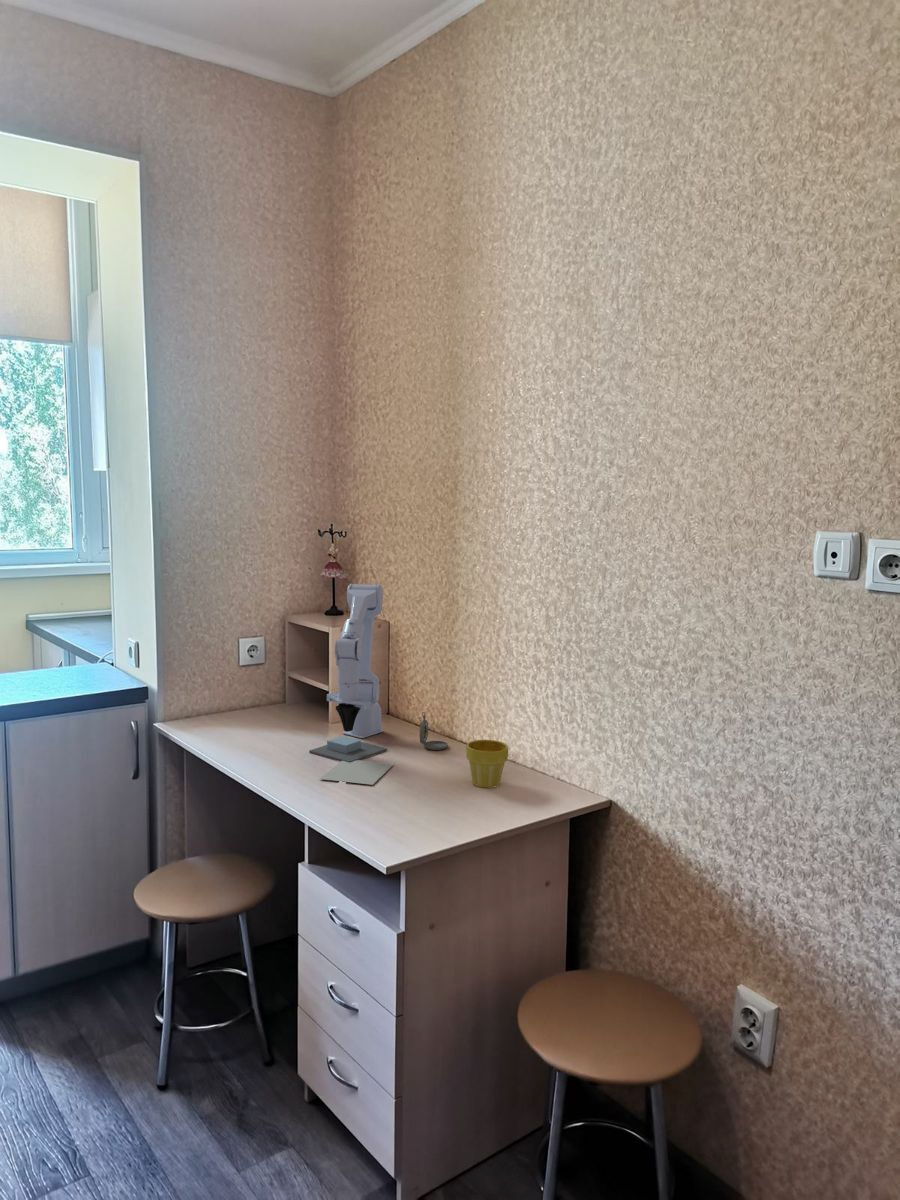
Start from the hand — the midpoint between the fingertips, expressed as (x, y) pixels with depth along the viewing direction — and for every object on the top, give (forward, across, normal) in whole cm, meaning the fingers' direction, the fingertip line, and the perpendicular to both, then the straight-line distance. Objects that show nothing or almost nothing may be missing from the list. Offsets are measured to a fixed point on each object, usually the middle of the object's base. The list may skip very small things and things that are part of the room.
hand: (348, 730), depth 237 cm
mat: (+6, 0, 0) cm, 6 cm away
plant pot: (+6, +44, +3) cm, 45 cm away
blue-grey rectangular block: (+4, +2, 0) cm, 5 cm away
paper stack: (+6, +20, -13) cm, 25 cm away
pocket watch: (+6, +15, +18) cm, 24 cm away
